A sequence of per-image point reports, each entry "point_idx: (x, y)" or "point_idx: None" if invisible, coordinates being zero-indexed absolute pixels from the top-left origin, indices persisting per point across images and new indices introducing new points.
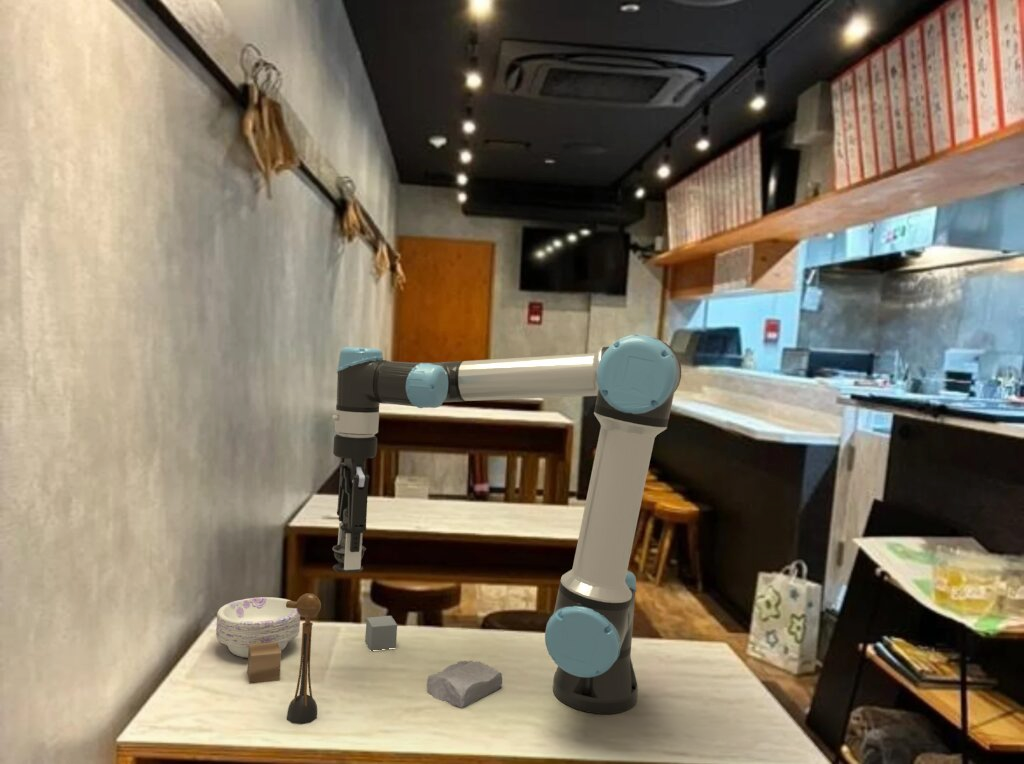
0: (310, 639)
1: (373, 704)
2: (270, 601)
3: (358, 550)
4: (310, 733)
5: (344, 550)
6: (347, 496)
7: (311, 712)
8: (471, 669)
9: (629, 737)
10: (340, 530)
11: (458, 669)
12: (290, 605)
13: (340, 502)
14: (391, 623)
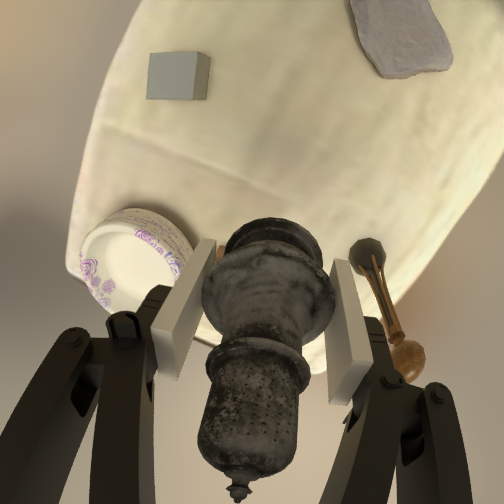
0: (393, 314)
1: (383, 164)
2: (89, 252)
3: (377, 323)
4: (404, 257)
5: (305, 336)
6: (152, 501)
7: (385, 255)
8: (399, 10)
9: None
10: (186, 355)
11: (385, 22)
12: None
13: (83, 426)
14: (186, 60)
